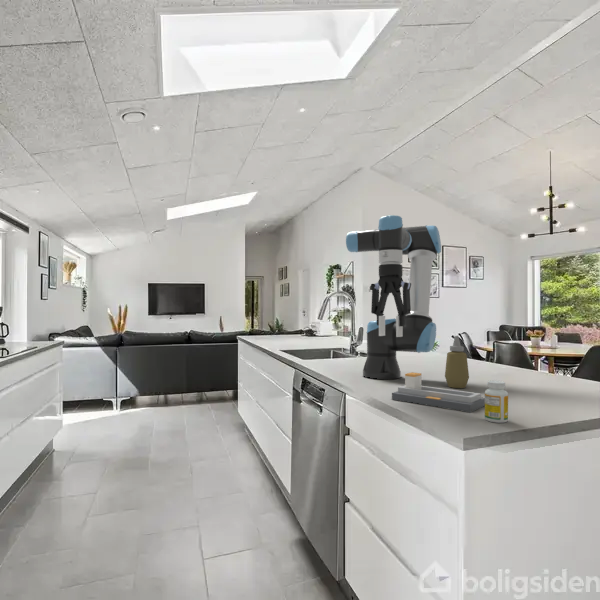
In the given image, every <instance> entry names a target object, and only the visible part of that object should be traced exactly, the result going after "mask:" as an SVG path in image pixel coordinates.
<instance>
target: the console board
mask: <svg viewBox="0 0 600 600" xmlns="http://www.w3.org/2000/svg"><path fill="white" fill-rule="evenodd" d="M481 394H482V393H479V392H472V391H463V390H456V389H450V388H449V389H448V388H440V387H433V386H426V385H425V386H424V385H421V390H420V389H413V388H405V385H401V386H398V387H397V391H393V392H391V400H392V399H394V400H393V401H398V400H401V401H400V402H404V401H407V403H411V402H413V403H412V404H417V403H420V404H419V405H423V404H427V405H426V406H429V405H432V406H431V407H435V406H438V407H437V408H441V407H443V409H447V408H449V409H448V410H454V409H456V410H455V411H460V410H462V411H461V412H466V411H467V413H472V412H474V411H477V410H479V409H481V408H483V407H485V397H484V396H483V397H482V395H481ZM476 409H477V410H476Z"/></svg>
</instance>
